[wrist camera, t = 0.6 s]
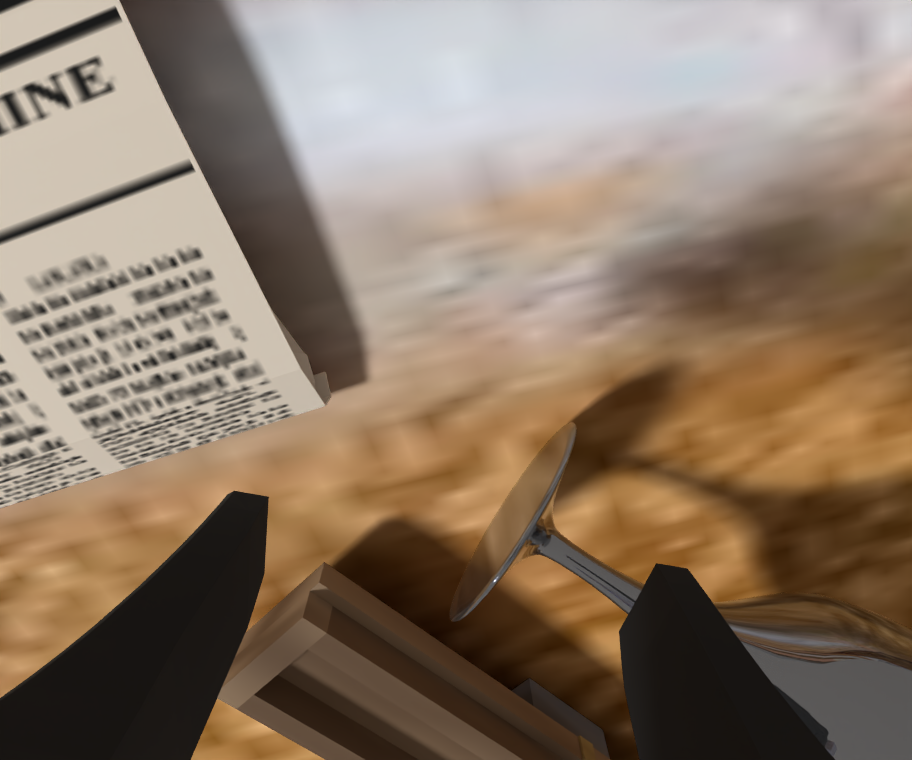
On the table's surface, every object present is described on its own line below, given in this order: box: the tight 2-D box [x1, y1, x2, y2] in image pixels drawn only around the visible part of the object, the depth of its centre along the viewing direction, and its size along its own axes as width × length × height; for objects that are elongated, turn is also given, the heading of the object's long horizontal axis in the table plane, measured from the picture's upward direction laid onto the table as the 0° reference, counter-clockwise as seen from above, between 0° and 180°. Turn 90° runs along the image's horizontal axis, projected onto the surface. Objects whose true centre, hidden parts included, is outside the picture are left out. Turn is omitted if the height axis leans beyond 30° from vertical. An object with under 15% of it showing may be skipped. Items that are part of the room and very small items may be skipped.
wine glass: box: [450, 422, 912, 760], centre depth 19 cm, size 8×8×15 cm
